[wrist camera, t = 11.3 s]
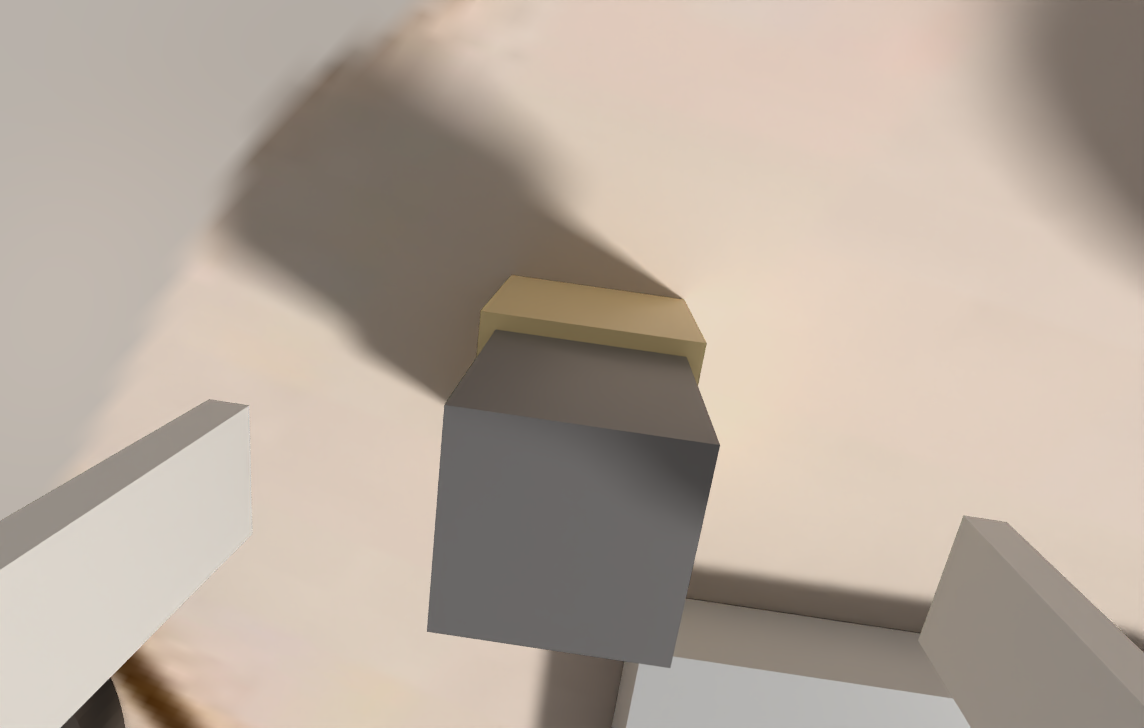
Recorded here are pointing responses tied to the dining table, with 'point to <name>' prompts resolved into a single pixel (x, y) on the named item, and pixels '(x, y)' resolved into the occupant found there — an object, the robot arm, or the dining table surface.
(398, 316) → the dining table surface
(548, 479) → the plug
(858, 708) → the socket
